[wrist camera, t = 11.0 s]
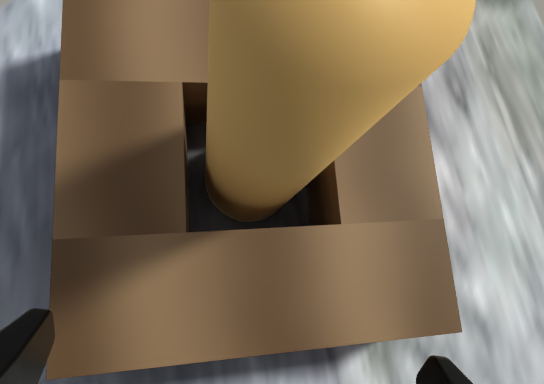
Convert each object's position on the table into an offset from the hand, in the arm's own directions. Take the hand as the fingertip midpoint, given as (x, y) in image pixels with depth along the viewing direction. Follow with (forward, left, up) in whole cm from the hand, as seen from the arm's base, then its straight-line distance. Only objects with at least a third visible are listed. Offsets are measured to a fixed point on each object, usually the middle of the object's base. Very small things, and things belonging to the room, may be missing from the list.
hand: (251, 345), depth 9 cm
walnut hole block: (+1, +6, -8) cm, 10 cm away
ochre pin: (+1, +6, -8) cm, 10 cm away
